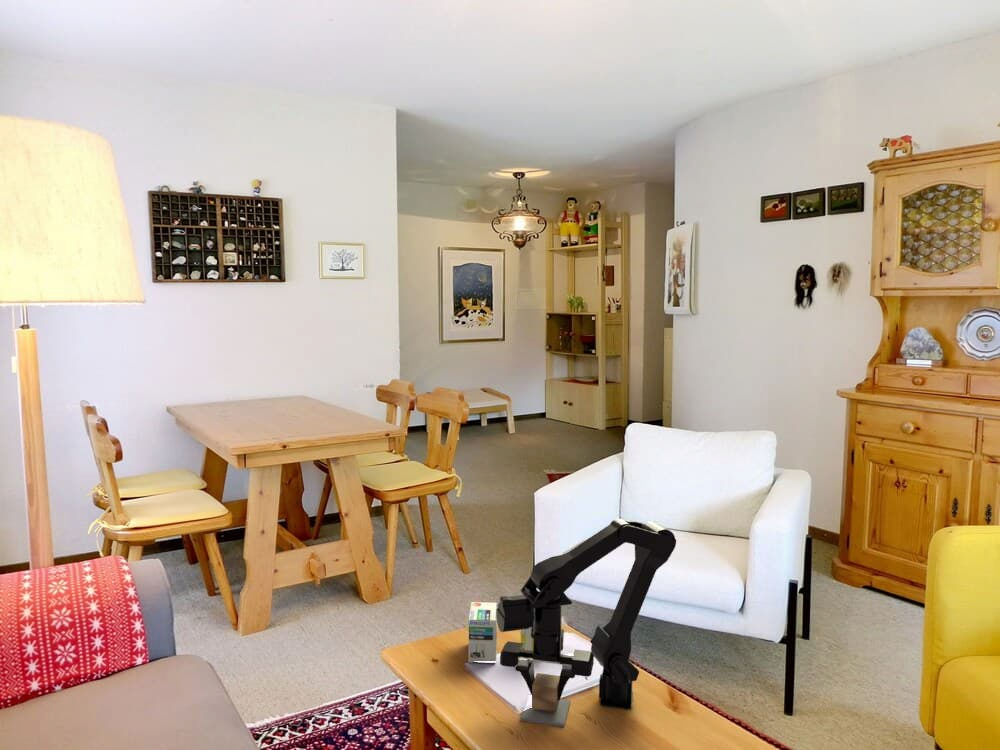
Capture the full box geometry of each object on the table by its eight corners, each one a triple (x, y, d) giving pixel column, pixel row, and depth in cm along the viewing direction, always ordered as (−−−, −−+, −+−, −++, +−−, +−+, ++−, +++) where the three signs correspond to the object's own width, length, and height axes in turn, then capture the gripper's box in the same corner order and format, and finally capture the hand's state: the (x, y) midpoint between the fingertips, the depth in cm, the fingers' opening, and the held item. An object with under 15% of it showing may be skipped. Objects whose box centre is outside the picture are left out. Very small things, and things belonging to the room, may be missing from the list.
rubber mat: (570, 702, 152) (570, 700, 152) (564, 726, 143) (564, 724, 143) (528, 697, 154) (528, 694, 154) (520, 720, 145) (520, 717, 145)
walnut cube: (559, 698, 150) (560, 676, 150) (556, 711, 145) (556, 688, 145) (536, 695, 151) (536, 672, 151) (532, 708, 146) (532, 685, 146)
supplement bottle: (552, 651, 174) (553, 600, 173) (539, 662, 169) (540, 610, 167) (528, 644, 178) (529, 594, 177) (515, 655, 172) (515, 603, 171)
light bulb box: (496, 664, 168) (496, 620, 167) (467, 664, 168) (467, 619, 167) (497, 643, 178) (497, 601, 177) (470, 642, 179) (470, 601, 177)
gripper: (597, 613, 152) (595, 683, 154) (511, 604, 157) (510, 672, 158) (591, 637, 142) (589, 712, 143) (499, 626, 146) (499, 699, 147)
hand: (546, 697), depth 148 cm, fingers closed on walnut cube, 5 cm apart
